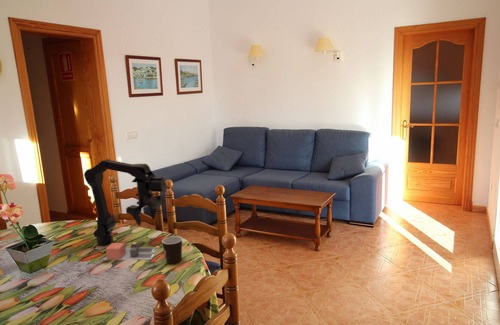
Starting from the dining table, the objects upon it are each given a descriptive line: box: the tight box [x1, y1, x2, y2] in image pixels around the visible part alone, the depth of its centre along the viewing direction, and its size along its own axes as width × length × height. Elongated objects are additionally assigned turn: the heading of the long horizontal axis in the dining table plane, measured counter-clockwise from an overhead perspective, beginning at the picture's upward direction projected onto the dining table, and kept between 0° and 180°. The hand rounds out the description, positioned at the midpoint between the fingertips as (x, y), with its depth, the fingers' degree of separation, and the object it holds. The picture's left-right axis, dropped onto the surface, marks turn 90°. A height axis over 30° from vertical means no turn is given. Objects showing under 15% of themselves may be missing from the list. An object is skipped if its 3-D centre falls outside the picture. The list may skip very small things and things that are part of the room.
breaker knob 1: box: [130, 241, 140, 249], centre depth 177 cm, size 2×3×3 cm
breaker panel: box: [103, 245, 161, 261], centre depth 175 cm, size 22×13×2 cm, turn 85°
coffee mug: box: [161, 235, 183, 266], centre depth 168 cm, size 12×9×10 cm
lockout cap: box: [105, 242, 126, 259], centre depth 172 cm, size 6×6×5 cm
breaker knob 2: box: [130, 247, 139, 257], centre depth 171 cm, size 2×3×3 cm
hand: (146, 222), depth 181 cm, fingers open, 9 cm apart
